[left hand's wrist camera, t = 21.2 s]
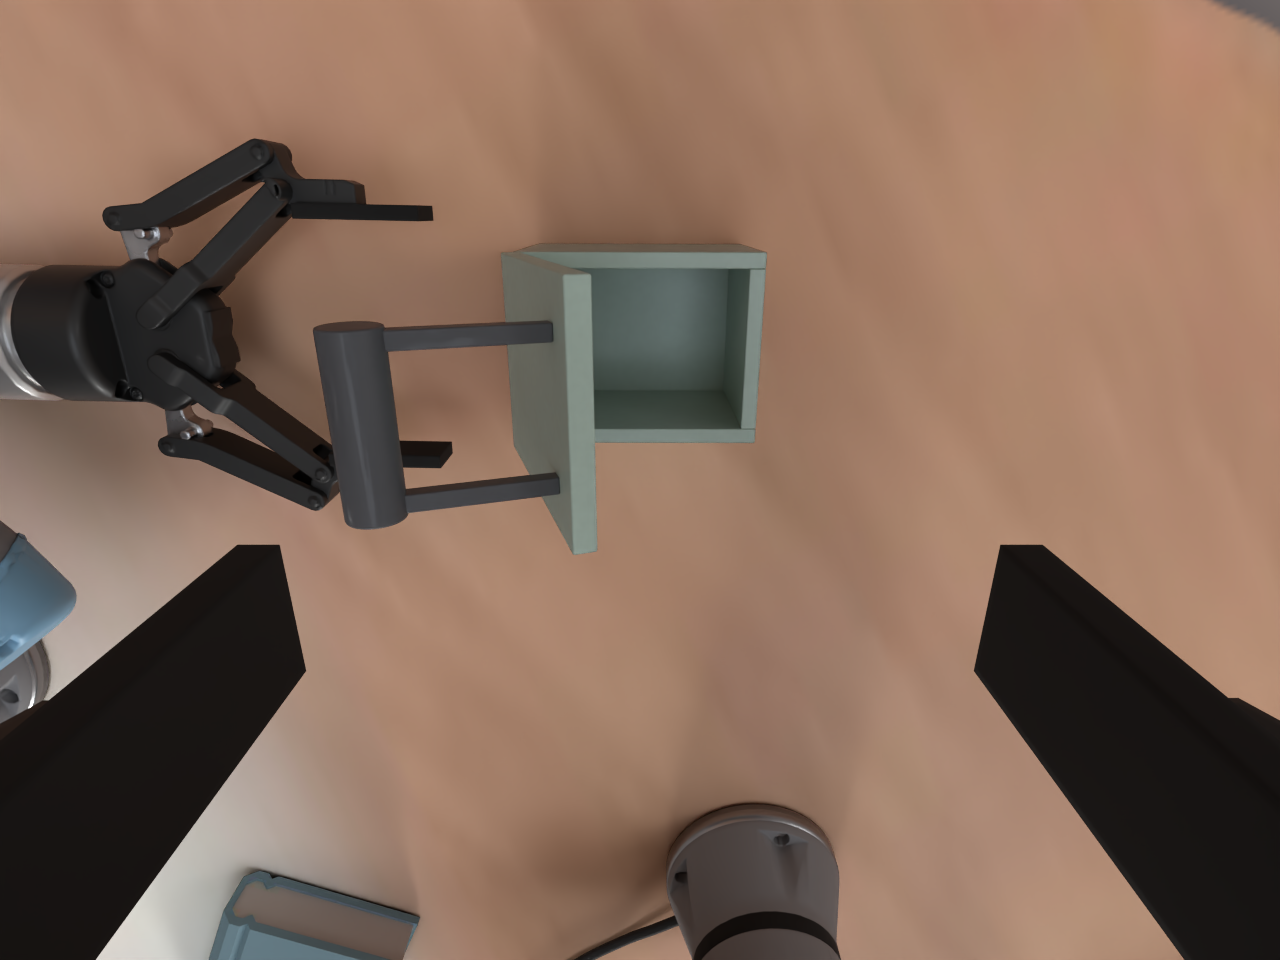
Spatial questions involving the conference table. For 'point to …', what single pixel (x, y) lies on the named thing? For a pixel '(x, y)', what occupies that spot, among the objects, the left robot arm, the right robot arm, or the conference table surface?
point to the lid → (540, 401)
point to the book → (307, 924)
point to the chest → (672, 338)
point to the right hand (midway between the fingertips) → (437, 341)
